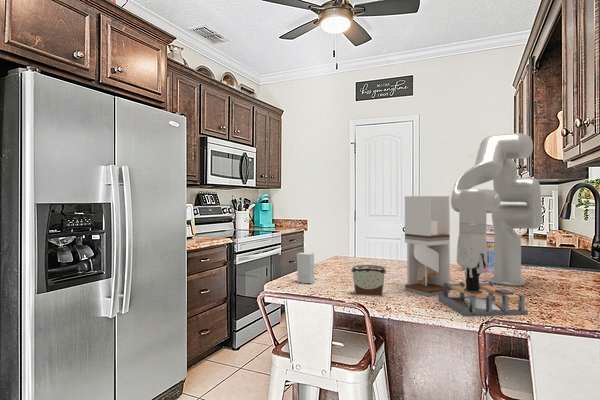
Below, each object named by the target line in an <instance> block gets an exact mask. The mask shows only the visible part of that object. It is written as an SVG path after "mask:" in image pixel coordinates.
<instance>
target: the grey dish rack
mask: <svg viewBox="0 0 600 400" xmlns="http://www.w3.org/2000/svg"><path fill="white" fill-rule="evenodd" d="M459 283H460V284H461V285H462V287H465V288H466V282H465V283H464V282H462V281H460V282H459ZM487 283H490V285H491V286H492V287H494V283H493V282H491V281H488V282H487ZM487 292H488V291H487ZM486 295H487V298H475V297H474V296H469V295H467V296H466V294H463V293H461V292H459V296H449V293H448V284H447V283H443V293H438V295H437V301H439V302H441V303H442V304H444V305H446V306H447V307H449V308H450V309H452V310H453V311H456V312H458V313H459V314H460V315H463V316H464V317H480V316H481V317H482V316H484V317H485V316H514V315H515V316H517V315H518V316H519V315H529V310H527V309H525V299H526V297H525V295H523V294H518V295H517V296H519V297H520V300H517V302H518V307H517V309H509V300H508V296H507V295H502V297H501V300H502V301H501V307H502V309H500V310H492V302H493V301H496V296H494V294H493V293H490V292H488V294H486ZM464 298H470V308H469V307H468V305H465V304H463V303H461V301H463V302H465V301H464ZM475 299H486V311H475ZM459 301H460V302H459Z"/></svg>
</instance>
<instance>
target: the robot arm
mask: <svg viewBox="0 0 600 400" xmlns="http://www.w3.org/2000/svg"><path fill="white" fill-rule="evenodd" d="M533 143H534V142H533V140H532V138H531V136H530V135H528V134H525V133H518V132H515V133H503V134H493V135H488V136H486V137H484V138H483V139H482V140H481V142H480V144H479V148H478V150H477V151H478V152H477V154H476V159H475V163H474V165H473V166H472V167H470V168H468V169H467V170H466V171H464V173H462V174H461V175H460V176H459V177H458V178H457V179H456V181H455V183H454V185H453V190H452V191H451V192H452V193H451V196H450V197H451V198H450V206H451V208H452V209H453V211H454V212H456V213H458V214H459V219H458V220H459V225H458V227H459V228H458V229H459V231H458V234H459V235H458V239H457V248H456V263H457V264H458V265H459V266H461V268H462V269H464V270H465V271H464V270H463V271H464V277H465V288H466V290H468V291H479V283H480V278H481V274H485V272H484V268H486V267H487V242H488V241H487V214H491V220H492V226H493V242H494V270H493V271H492V272H491V274H493V277H490V278H489V282H493V284H497V285H501V286H510V287H511V286H512V287H519V286H525V285H526V280H524V279H522V241H521V237H520V235H519V234H518V233H517V232H516V230H515V229H523V230H524V229H525V230H526V229H527V230H535V229H539V228H540V227H541V226H542V222H543V209H542V191H541V190H542V189H541V184H540V181H539V180H538V179H537V178H535V177H519V176H518V169H517V164H516V162H515V161H514V160H521V159H528V158H529V157H531V155H532V154H533V150H534V144H533ZM490 181H492V184H493V185H492V186H493V189H486V188H485V189H483V188H482V189H481V188H475V187H476V186H479V185H482V184H484V183H485V184H486V183H487V182H490ZM473 187H474V188H473ZM502 202H503V204H501V203H502ZM506 203H508V204H506ZM509 203H513V204H509ZM515 203H516V204H515ZM518 203H520V204H518ZM521 203H524V204H521Z"/></svg>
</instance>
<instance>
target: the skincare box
mask: <svg viewBox="0 0 600 400" xmlns="http://www.w3.org/2000/svg"><path fill="white" fill-rule="evenodd" d="M314 257H315V253H312V252H298V253H296V265H297V266H296V268H297V271H296V272H297V275H296V276H297V283H298V282H301V283H300V284H304V283H310V284H309V285H312V284H314V283H315V282H316V281H315V258H314ZM313 282H314V283H313ZM311 283H312V284H311Z"/></svg>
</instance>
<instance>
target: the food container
mask: <svg viewBox="0 0 600 400" xmlns="http://www.w3.org/2000/svg"><path fill="white" fill-rule="evenodd" d="M350 273H352V276H353V277H352V278H353V285H354V295H355V296H364V297H365V296H366V297H368V296H369V297H383V294H384V293H383V292H384V285H385V284H384V282H385V274H387V271H386V267H384V266H382V265H376V264H375V265H374V264H358V265H357V264H356V265H353V266H352V268H351V271H350Z"/></svg>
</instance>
